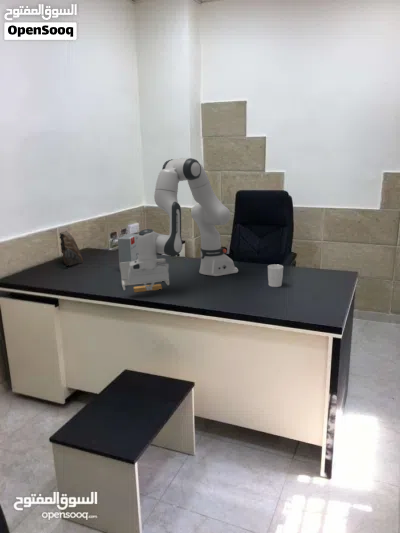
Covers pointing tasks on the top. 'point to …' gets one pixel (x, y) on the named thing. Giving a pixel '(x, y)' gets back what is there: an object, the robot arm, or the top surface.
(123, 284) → the duct
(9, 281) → the top surface
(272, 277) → the white cup
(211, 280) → the top surface
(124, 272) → the panel
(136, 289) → the wooden block
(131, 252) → the hard drive box
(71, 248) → the owl
